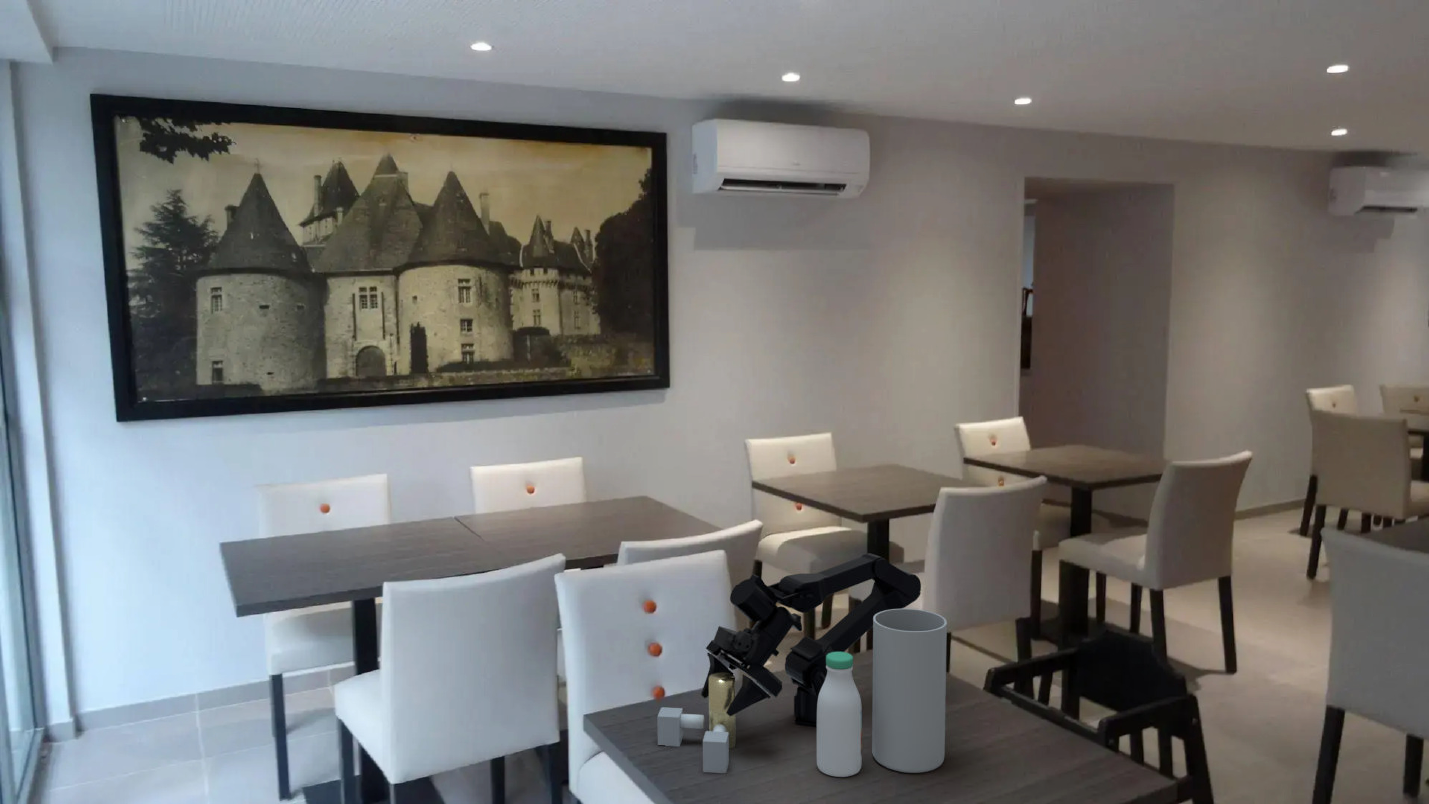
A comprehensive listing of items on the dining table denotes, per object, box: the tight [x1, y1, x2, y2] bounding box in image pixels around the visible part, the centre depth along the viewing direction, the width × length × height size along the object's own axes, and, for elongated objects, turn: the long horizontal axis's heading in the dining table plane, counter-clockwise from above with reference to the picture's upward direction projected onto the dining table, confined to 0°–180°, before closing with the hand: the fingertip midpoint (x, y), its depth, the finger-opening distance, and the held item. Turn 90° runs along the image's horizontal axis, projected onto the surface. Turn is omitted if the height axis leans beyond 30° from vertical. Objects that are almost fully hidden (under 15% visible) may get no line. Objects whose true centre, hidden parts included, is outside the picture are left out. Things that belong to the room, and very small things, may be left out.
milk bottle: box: [816, 651, 863, 778], centre depth 167 cm, size 8×8×20 cm
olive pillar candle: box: [708, 673, 736, 750], centre depth 177 cm, size 5×5×12 cm
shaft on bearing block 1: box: [656, 707, 705, 748], centre depth 178 cm, size 8×4×6 cm, turn 83°
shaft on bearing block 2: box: [702, 724, 730, 774], centre depth 170 cm, size 8×4×6 cm, turn 173°
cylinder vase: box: [871, 608, 948, 774], centre depth 170 cm, size 12×12×25 cm
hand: (715, 705), depth 176 cm, fingers open, 9 cm apart
